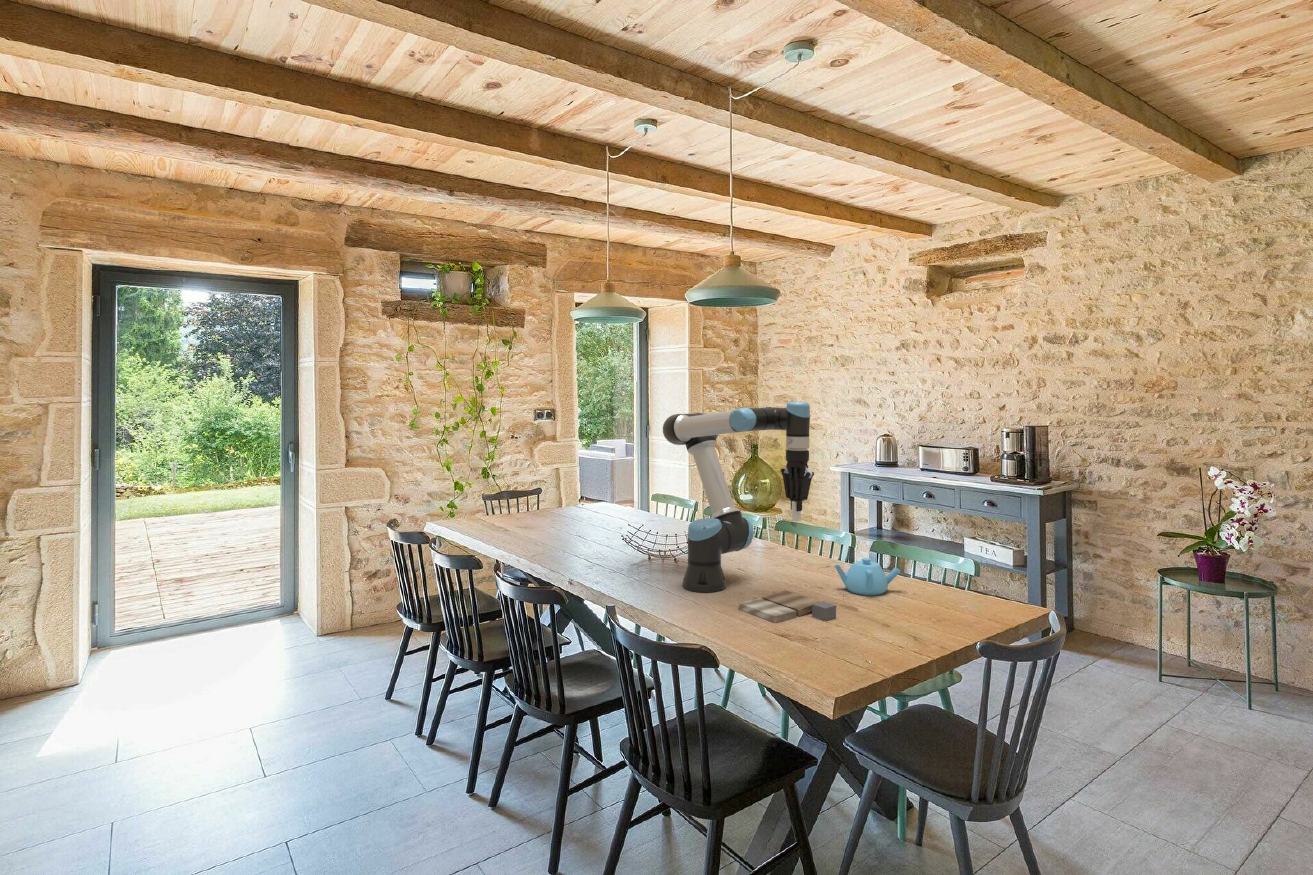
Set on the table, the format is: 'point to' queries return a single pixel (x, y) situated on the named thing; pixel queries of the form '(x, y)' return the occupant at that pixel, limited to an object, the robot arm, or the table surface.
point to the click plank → (792, 601)
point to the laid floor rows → (767, 610)
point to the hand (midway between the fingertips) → (796, 520)
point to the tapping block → (824, 611)
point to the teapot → (866, 577)
